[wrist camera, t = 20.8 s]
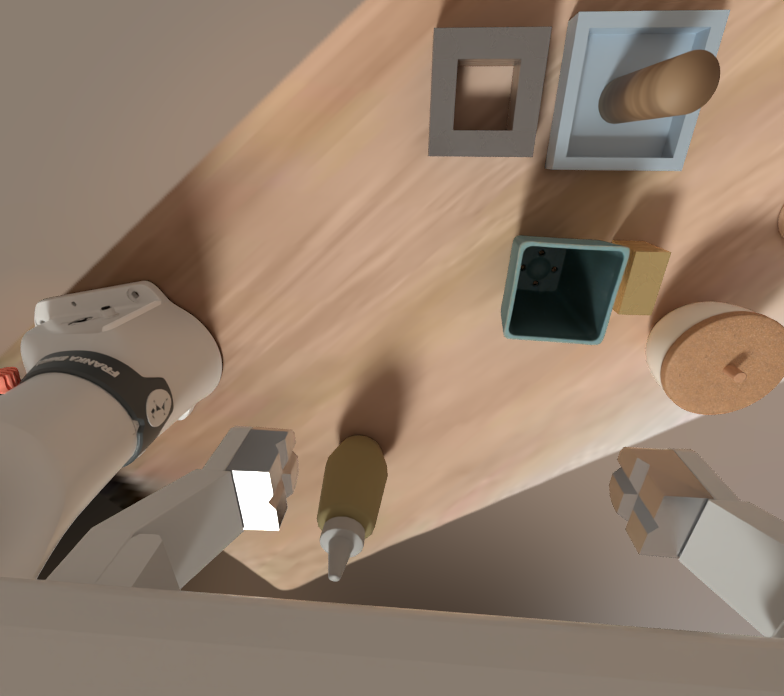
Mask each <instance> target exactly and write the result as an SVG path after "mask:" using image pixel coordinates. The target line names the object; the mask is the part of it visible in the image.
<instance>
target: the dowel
mask: <svg viewBox="0 0 784 696" xmlns="http://www.w3.org/2000/svg"><path fill="white" fill-rule="evenodd" d="M719 78H720V66H719V63H718V60H717V58H716V57H715V56H714V55H713V54H712V53H711V52H709V51H706V50H701V49H700V50H692V51H689V52H686V53H684V54H681V55H678V56H675V57H673V58H670V59H667V60H664V61H662V62H659V63H656V64H654V65H651V66H648V67H645V68H643V69H640V70H637V71H634V72H632V73H629V74H626V75H624V76H621V77H618V78H616V79H614V80H612V81H611V82H610V83H609V84H608V85H607V86H606V87H605V88H604V89H603V91H602V93H601V95H600V98H599V102H598V109H599V113H600V116H601V117H602V119H603V120H605V121H606V122H608V123H611V124H619V123H626V122H634V121H641V120H649V119H657V118H664V117H672V116H679V115H686V114H690V113H692V112H695V111H696V110H698V109H700V108H701V107H702V106H703V105H705V104H706V103H707V102H708V101H709V99H710V98H711V97H712V95H713V94H714V92H715V90H716V88H717V86H718V83H719Z"/></svg>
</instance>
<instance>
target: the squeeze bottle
mask: <svg viewBox="0 0 784 696" xmlns="http://www.w3.org/2000/svg"><path fill="white" fill-rule="evenodd" d="M387 476H388V473H387V465H386V462H385V459H384V456H383V453H382V450H381V448H380V446H379V445H378V443H377V442H375V441H374V440H373V439H371V438H369V437H366V436H363V435H358V436H351V437H348V438H346V439H345V440H344V441H343V442H342V443H341V444H340V445H339V446H338V447H337V448H336V449H335V451H334V452H333V453H332V454H331V455H330V456H329V458H328V460H327V463H326V467H325V472H324V478H323V484H322V490H321V496H320V502H319V508H318V514H317V522H318V526H319V528H320V529H321V530H322V533H321V537H320V544H321V547H322V548H323V549H324V550H325V552H327V553H328V576H329V579H330V580H332V581H339V580H340V578H341V576H342V573H343V571H344V569H345V566H346V564H347V562H348V559H349V558H350V557H353V556H356V555H357V554H359V553H360V552H361V551H362V548H363V546H364V539H366V538H367V537H369V536H370V535H371V534H372V532H373V530H374V528H375V524H376V520H377V516H378V512H379V508H380V504H381V500H382V496H383V492H384V488H385V484H386V480H387Z"/></svg>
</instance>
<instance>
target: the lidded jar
mask: <svg viewBox="0 0 784 696" xmlns="http://www.w3.org/2000/svg"><path fill="white" fill-rule="evenodd" d="M645 355H646V362H647V365H648V368H649V370H650V372H651V374H652V376H653V377H654V379H655V380H656V382H657V383H658V385H659V386H660V387H661V388H662V389H663V390H664V391H665V393H666V394H667V396H668V397H669V398H670V399H671V400H672V401H673V402H674V403H675V404H676V405H678V406H679V407H681V408H682V409H684V410H687V411H689V412H693V413H696V414H704V415H716V414H725V413H729V412H733V411H736V410H739V409H742V408H744V407H747V406H749V405H751V404H753V403H755V402H756V401H758V400H760V399H761V398H763V397H764V396H765V395H767V394H768V393H769V392H770V391H771V390H773V389H774V388H775V387H776V386H777V385H778V383H779V382H780V381H781V380H782V378H783V377H784V327H783V326H782V325H781V324H780V323H778V322H777V321H775V320H773V319H771V318H769V317H767V316H765V315H762V314H759V313H755V312H753V311H751V310H749V309H746V308H743V307H740V306H736V305H733V304H729V303H723V302H715V301H711V302H697V303H692V304H688V305H685V306H682V307H679V308H677V309H675V310H673V311H671V312H670V313H668V314H667V315H665V316H664V317H663V318H662V319H661V320H660V321H658V323H657V324H656V325H655V326H654V327H653V329H652V331H651V332H650V334H649V336H648V339H647V343H646V348H645Z"/></svg>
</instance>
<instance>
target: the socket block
mask: <svg viewBox="0 0 784 696" xmlns="http://www.w3.org/2000/svg"><path fill="white" fill-rule="evenodd" d="M551 30H552V27H478V28H434V34H433V54H432V77H431V101H430V124H429V148H428V156H474V157H533V151H534V144H535V137H536V131H537V124H538V117H539V111H540V104H541V97H542V90H543V84H544V77H545V70H546V63H547V57H548V50H549V43H550V36H551ZM457 66H514V68H513V76H512V85H511V93H510V102H509V110H508V118H507V127H506V131H485V130H453V124H454V109H455V94H456V79H457Z"/></svg>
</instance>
